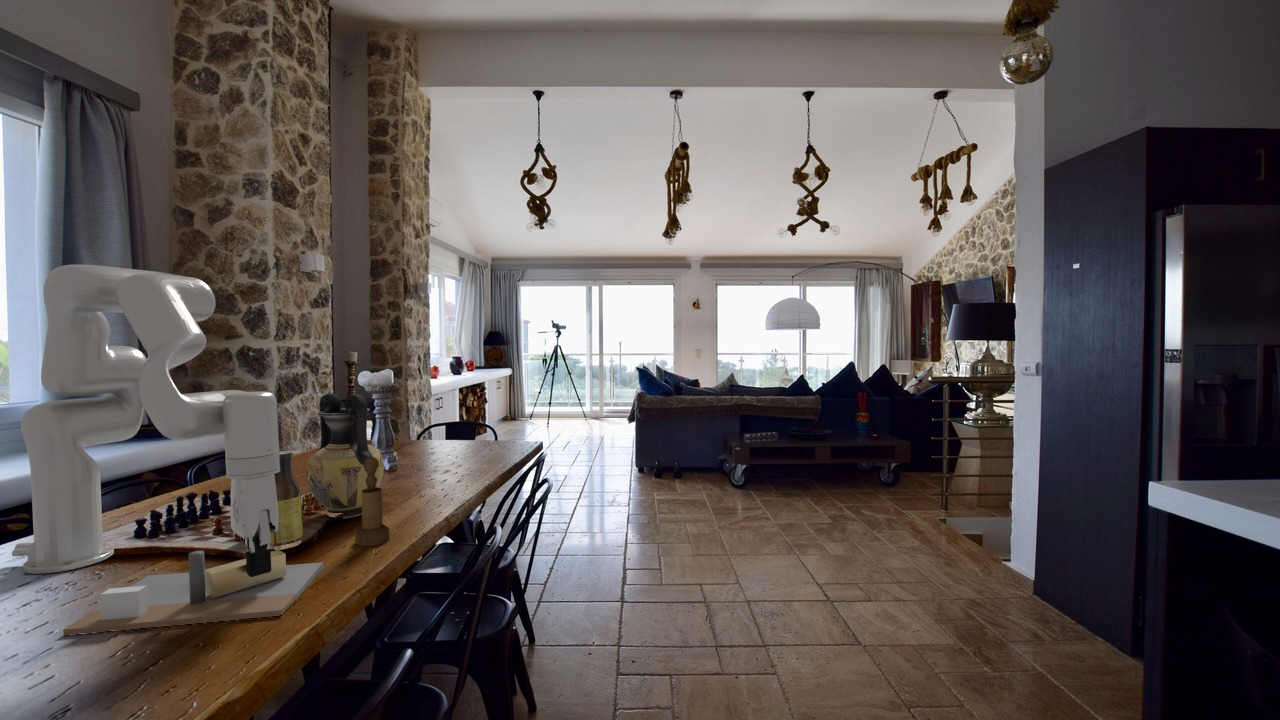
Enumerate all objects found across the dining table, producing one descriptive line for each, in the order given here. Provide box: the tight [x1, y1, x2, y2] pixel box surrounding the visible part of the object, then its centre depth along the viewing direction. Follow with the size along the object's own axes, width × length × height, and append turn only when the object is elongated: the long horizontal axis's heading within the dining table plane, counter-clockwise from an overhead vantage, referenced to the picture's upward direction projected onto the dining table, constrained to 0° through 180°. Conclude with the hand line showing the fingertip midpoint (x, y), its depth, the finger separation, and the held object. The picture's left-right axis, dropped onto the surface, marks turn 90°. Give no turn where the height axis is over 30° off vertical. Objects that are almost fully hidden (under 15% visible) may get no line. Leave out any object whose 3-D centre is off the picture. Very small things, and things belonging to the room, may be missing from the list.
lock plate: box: [62, 550, 325, 635], centre depth 97 cm, size 29×20×9 cm
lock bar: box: [205, 550, 287, 598], centre depth 99 cm, size 11×3×4 cm, turn 143°
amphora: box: [306, 392, 385, 519], centre depth 142 cm, size 18×17×30 cm
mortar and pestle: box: [354, 457, 390, 547], centre depth 123 cm, size 7×6×18 cm
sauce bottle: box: [270, 450, 304, 546], centre depth 120 cm, size 7×6×20 cm
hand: (259, 573), depth 97 cm, fingers closed
